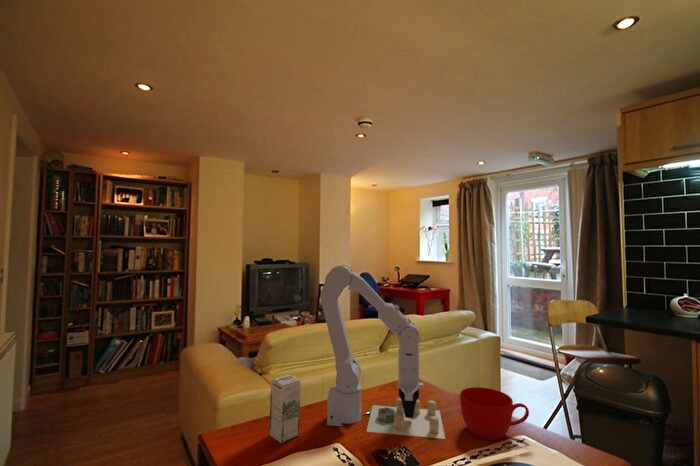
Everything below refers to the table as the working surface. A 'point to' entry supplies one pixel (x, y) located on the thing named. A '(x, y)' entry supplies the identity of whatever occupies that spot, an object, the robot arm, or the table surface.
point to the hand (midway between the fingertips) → (408, 416)
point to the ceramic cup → (488, 412)
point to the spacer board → (409, 421)
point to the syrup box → (284, 408)
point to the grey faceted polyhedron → (386, 415)
